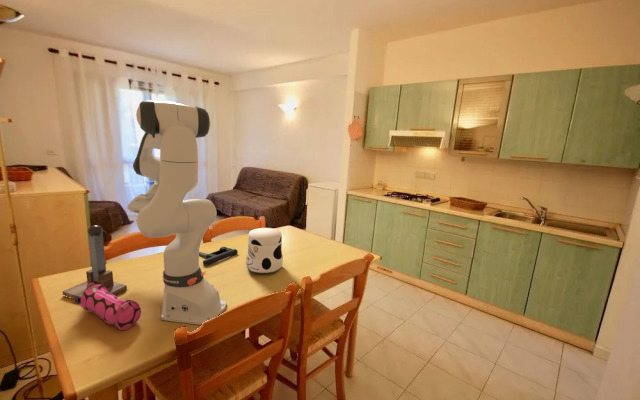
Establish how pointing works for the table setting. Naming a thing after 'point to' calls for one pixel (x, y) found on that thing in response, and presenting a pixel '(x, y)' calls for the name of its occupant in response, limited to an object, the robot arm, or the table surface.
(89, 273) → the press stand
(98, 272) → the lever
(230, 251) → the door handle
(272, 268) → the milk container
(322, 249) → the table surface
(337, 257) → the table surface
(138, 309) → the pencil case
